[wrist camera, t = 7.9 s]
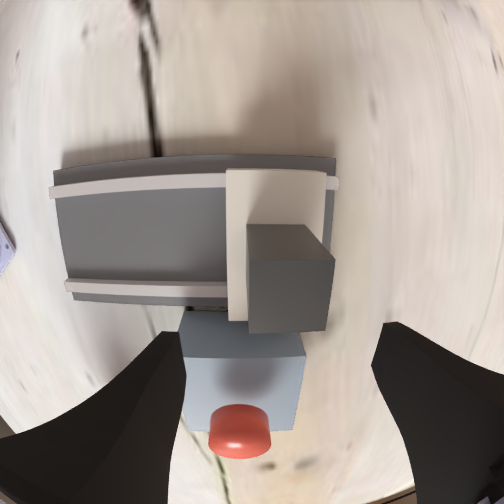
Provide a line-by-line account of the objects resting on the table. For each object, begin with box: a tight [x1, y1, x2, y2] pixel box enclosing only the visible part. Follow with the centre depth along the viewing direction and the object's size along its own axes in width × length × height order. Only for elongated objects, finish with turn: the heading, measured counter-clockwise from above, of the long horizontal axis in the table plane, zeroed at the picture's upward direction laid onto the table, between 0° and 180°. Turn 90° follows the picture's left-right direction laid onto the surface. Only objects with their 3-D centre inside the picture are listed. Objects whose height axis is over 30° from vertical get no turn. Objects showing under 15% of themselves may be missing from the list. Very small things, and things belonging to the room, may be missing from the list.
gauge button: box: [208, 404, 271, 459], centre depth 14 cm, size 4×4×2 cm
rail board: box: [49, 154, 339, 307], centre depth 17 cm, size 19×10×2 cm, turn 89°
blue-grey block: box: [178, 311, 306, 432], centre depth 19 cm, size 8×8×5 cm
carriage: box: [226, 168, 335, 334], centre depth 13 cm, size 5×8×7 cm, turn 179°
